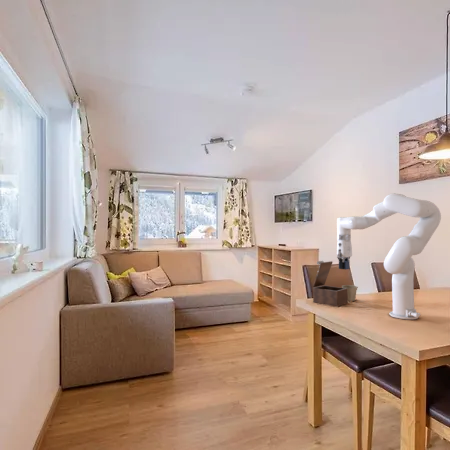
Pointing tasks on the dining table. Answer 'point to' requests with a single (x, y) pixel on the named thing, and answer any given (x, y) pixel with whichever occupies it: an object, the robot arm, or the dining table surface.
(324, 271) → the lid
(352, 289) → the flower pot
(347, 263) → the block
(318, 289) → the chest
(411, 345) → the dining table surface
